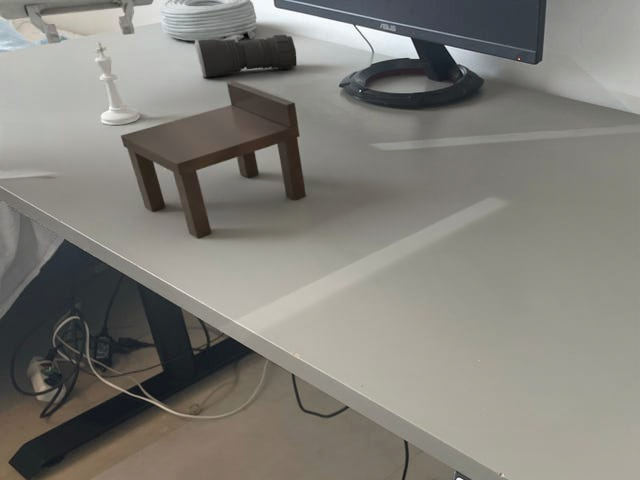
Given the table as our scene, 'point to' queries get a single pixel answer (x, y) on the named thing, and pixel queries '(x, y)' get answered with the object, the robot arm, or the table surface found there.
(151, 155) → the wooden bench with backrest
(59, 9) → the robot arm
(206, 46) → the flashlight
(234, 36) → the cable
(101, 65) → the chess piece
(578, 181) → the table surface
